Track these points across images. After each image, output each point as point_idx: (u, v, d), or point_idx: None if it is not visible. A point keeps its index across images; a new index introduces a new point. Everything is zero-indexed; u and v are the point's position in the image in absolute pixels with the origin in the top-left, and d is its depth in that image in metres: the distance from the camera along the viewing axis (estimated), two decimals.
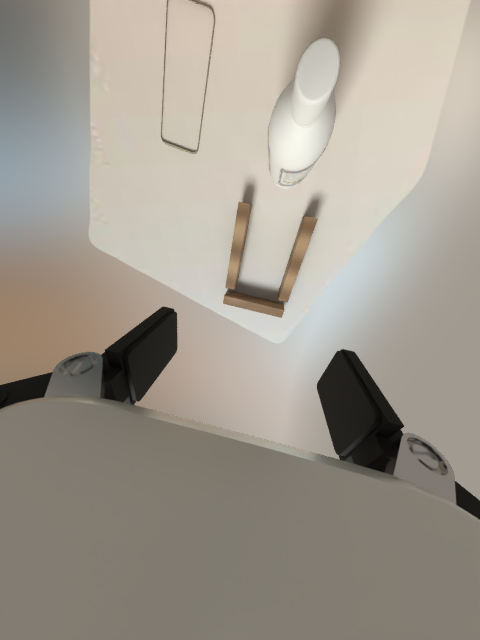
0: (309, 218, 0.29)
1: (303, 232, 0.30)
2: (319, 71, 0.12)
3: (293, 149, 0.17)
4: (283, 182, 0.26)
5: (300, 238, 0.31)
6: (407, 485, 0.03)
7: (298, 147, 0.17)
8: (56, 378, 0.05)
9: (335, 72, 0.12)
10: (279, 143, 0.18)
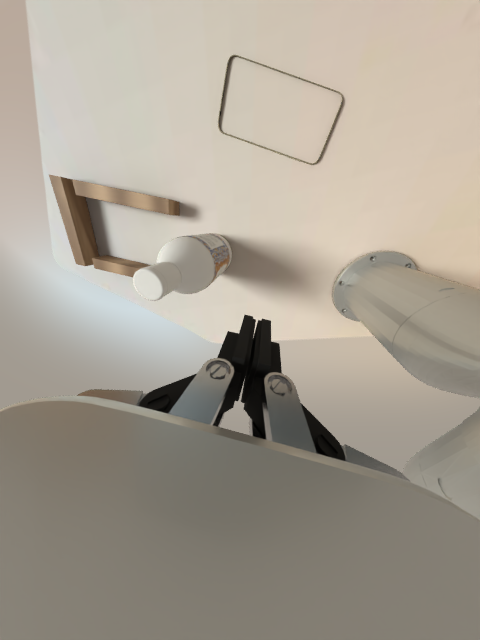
0: None
1: None
2: (147, 287, 0.15)
3: None
4: None
5: None
6: (407, 485, 0.03)
7: None
8: (211, 381, 0.06)
9: (149, 298, 0.15)
10: (160, 251, 0.19)
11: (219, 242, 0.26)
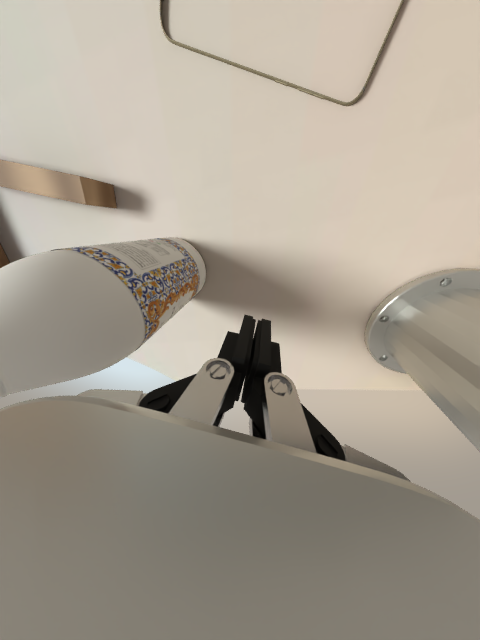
0: None
1: None
2: None
3: None
4: None
5: None
6: (407, 485, 0.03)
7: None
8: (211, 381, 0.06)
9: None
10: None
11: (173, 255, 0.14)
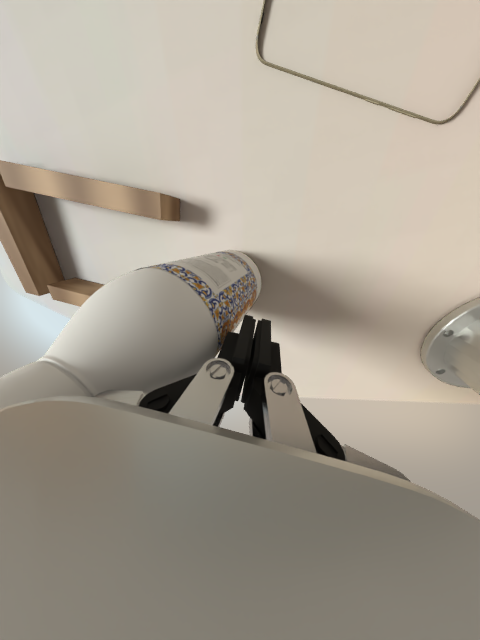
0: None
1: None
2: None
3: None
4: None
5: None
6: (407, 485, 0.03)
7: None
8: (211, 381, 0.06)
9: None
10: None
11: (239, 270, 0.14)
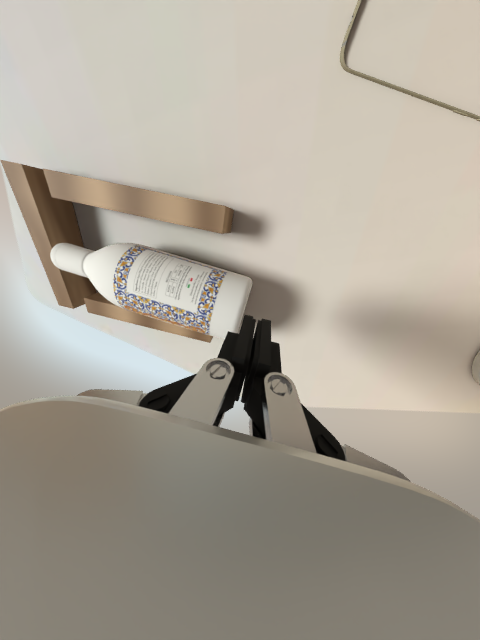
0: None
1: None
2: None
3: None
4: None
5: None
6: (407, 485, 0.03)
7: None
8: (211, 381, 0.06)
9: None
10: None
11: (182, 303, 0.15)
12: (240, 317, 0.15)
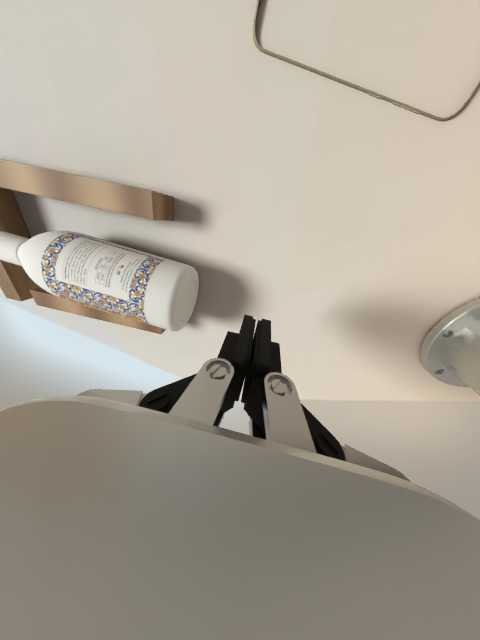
0: None
1: None
2: None
3: None
4: None
5: None
6: (407, 485, 0.03)
7: None
8: (211, 381, 0.06)
9: None
10: None
11: (113, 290, 0.14)
12: (173, 304, 0.15)
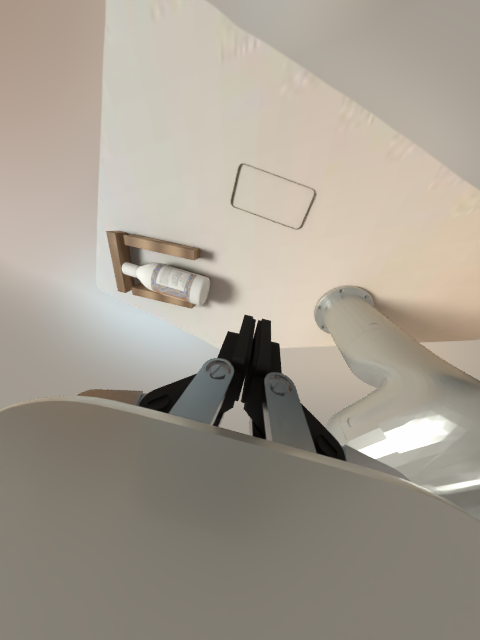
0: (191, 303, 0.42)
1: None
2: None
3: None
4: None
5: None
6: (407, 485, 0.03)
7: None
8: (211, 381, 0.06)
9: None
10: (149, 263, 0.39)
11: (178, 287, 0.37)
12: (201, 293, 0.37)
